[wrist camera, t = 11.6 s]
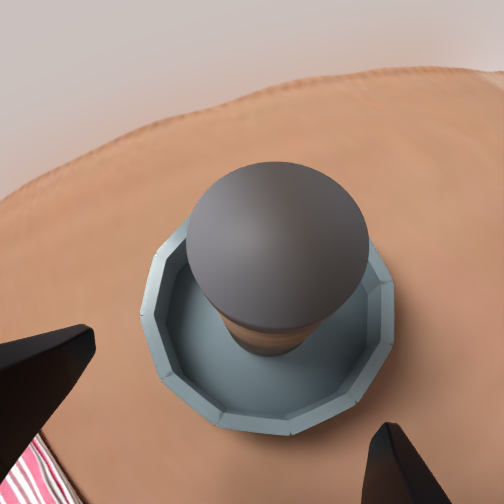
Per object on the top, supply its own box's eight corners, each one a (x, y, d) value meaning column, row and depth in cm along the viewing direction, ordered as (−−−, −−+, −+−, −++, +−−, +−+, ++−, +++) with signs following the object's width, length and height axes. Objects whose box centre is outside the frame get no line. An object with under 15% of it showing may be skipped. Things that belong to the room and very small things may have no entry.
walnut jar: (248, 374, 17) (234, 362, 8) (208, 293, 19) (162, 201, 10) (331, 331, 18) (402, 270, 8) (287, 256, 20) (308, 142, 10)
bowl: (291, 466, 15) (297, 481, 12) (119, 329, 18) (98, 319, 16) (409, 289, 19) (429, 273, 16) (248, 184, 23) (247, 157, 20)
